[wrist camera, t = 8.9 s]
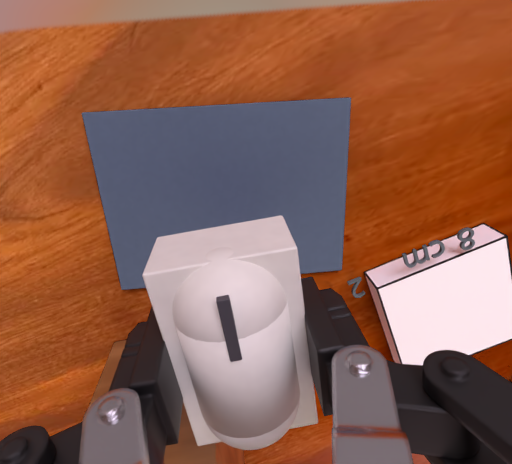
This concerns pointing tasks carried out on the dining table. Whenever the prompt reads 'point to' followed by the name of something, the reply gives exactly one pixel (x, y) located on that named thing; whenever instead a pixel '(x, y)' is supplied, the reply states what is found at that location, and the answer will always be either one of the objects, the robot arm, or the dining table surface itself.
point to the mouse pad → (222, 174)
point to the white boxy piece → (235, 330)
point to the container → (445, 296)
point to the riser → (186, 450)
